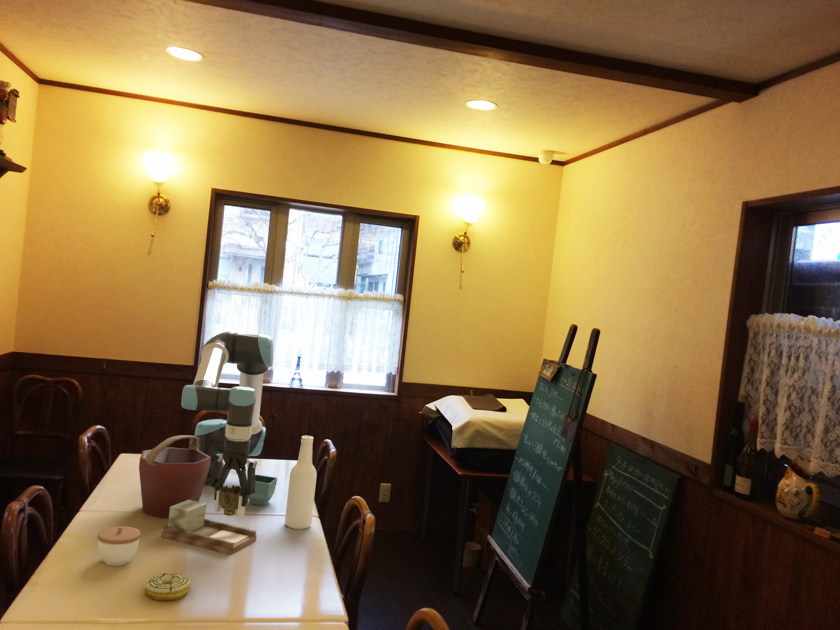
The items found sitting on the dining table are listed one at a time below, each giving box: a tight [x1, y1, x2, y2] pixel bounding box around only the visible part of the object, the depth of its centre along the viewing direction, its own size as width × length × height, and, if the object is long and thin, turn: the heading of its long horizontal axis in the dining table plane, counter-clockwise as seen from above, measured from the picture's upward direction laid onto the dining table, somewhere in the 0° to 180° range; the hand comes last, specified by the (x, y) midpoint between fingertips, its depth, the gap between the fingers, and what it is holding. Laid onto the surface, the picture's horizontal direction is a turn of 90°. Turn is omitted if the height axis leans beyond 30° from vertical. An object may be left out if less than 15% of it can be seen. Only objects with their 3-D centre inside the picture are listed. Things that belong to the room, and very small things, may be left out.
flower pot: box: [248, 474, 278, 506], centre depth 243 cm, size 9×9×9 cm
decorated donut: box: [143, 572, 192, 602], centre depth 167 cm, size 10×11×4 cm
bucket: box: [138, 434, 211, 519], centre depth 225 cm, size 24×22×25 cm
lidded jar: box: [96, 525, 142, 567], centre depth 181 cm, size 11×11×9 cm
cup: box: [220, 484, 242, 517], centre depth 202 cm, size 8×7×8 cm
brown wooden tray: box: [161, 500, 257, 556], centre depth 205 cm, size 24×14×8 cm, turn 72°
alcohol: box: [284, 435, 317, 530], centre depth 225 cm, size 9×9×30 cm
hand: (229, 513), depth 202 cm, fingers closed on cup, 7 cm apart
